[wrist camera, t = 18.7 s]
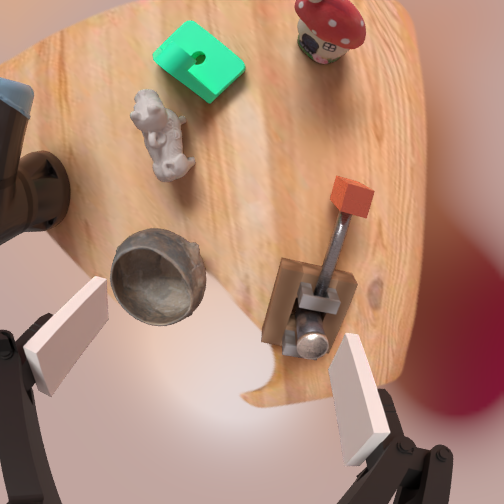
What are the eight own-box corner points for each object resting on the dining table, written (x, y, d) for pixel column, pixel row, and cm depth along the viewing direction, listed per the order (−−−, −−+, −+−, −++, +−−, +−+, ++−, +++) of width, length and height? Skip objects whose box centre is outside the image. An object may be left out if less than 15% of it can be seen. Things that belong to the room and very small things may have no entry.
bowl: (201, 309, 53) (188, 344, 43) (123, 280, 52) (97, 308, 42) (223, 238, 47) (211, 264, 38) (134, 208, 46) (104, 226, 37)
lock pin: (303, 287, 47) (307, 311, 40) (336, 175, 40) (348, 183, 34) (324, 291, 47) (331, 316, 40) (359, 182, 40) (374, 191, 34)
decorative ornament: (282, 28, 35) (286, -17, 21) (317, 10, 33) (335, -37, 19) (321, 75, 37) (343, 48, 23) (355, 56, 35) (391, 25, 22)
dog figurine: (180, 91, 39) (153, 80, 29) (200, 171, 44) (180, 181, 34) (148, 103, 40) (115, 96, 30) (168, 180, 44) (140, 193, 35)
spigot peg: (289, 311, 51) (293, 356, 40) (296, 289, 50) (302, 332, 39) (314, 315, 51) (322, 361, 40) (321, 294, 50) (333, 337, 39)
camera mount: (249, 69, 38) (242, 50, 28) (211, 104, 40) (193, 96, 31) (193, 23, 35) (173, -2, 26) (158, 57, 37) (130, 41, 28)
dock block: (262, 328, 53) (260, 357, 46) (281, 257, 48) (283, 281, 40) (325, 339, 53) (331, 369, 46) (351, 273, 48) (364, 297, 41)
